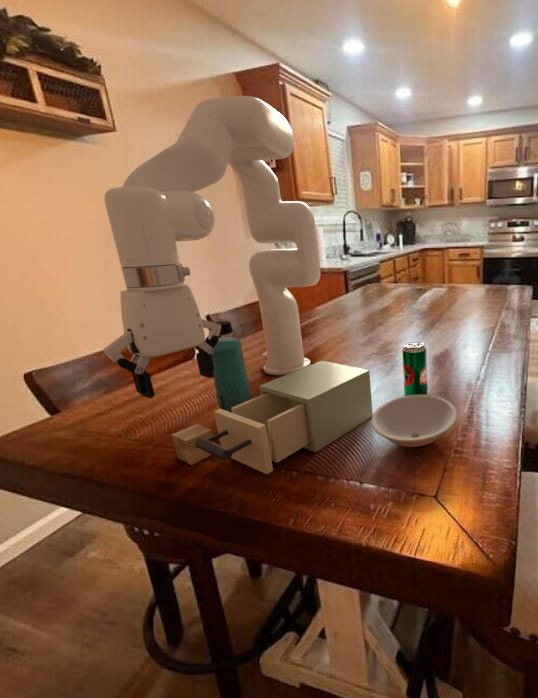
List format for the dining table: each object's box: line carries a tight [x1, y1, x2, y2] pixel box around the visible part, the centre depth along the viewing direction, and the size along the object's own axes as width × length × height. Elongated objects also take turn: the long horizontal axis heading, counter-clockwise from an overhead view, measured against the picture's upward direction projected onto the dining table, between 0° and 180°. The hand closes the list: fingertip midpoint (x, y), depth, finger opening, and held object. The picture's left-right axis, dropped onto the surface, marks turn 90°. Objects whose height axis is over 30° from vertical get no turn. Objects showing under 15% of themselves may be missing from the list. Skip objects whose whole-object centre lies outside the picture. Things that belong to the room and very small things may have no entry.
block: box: [171, 423, 215, 466], centre depth 69 cm, size 4×4×4 cm
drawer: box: [195, 393, 311, 475], centre depth 67 cm, size 20×12×8 cm, turn 146°
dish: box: [371, 394, 458, 448], centre depth 70 cm, size 18×14×5 cm
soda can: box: [401, 341, 428, 396], centre depth 87 cm, size 5×5×12 cm
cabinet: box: [258, 360, 374, 453], centre depth 77 cm, size 16×13×10 cm
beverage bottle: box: [211, 320, 253, 413], centre depth 80 cm, size 6×7×20 cm
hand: (179, 385), depth 65 cm, fingers open, 9 cm apart
